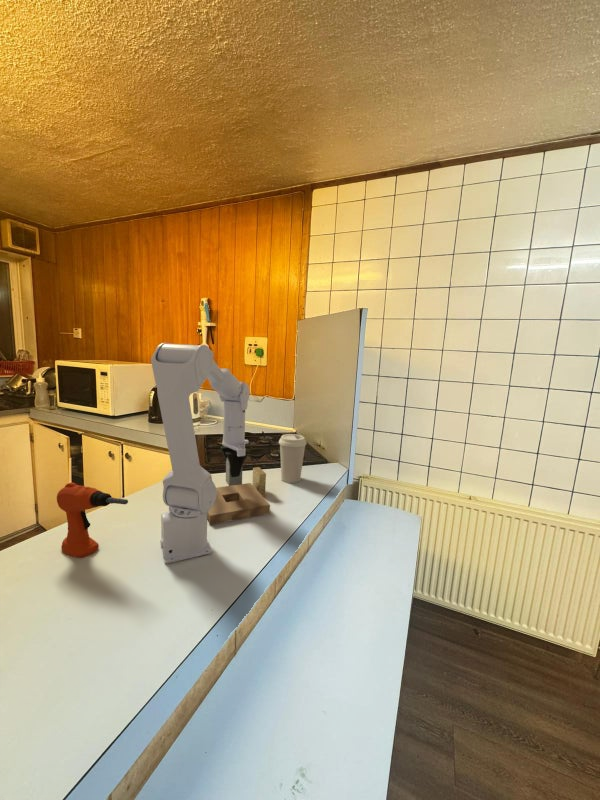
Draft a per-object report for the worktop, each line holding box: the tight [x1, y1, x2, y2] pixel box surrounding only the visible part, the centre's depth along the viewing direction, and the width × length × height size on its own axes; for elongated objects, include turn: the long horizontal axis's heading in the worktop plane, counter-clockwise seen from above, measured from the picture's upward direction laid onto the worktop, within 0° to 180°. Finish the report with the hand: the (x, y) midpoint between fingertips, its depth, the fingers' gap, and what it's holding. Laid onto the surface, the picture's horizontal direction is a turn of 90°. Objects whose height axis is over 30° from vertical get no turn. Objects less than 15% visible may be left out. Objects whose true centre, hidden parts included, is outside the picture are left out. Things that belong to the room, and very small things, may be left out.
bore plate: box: [207, 482, 271, 526], centre depth 93 cm, size 16×16×2 cm
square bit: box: [225, 457, 244, 486], centre depth 92 cm, size 4×4×7 cm
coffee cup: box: [278, 433, 308, 484], centre depth 113 cm, size 10×10×15 cm
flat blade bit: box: [251, 466, 267, 497], centre depth 102 cm, size 2×6×7 cm, turn 27°
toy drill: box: [56, 481, 129, 559], centre depth 67 cm, size 5×19×15 cm, turn 70°
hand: (233, 473), depth 92 cm, fingers closed on square bit, 4 cm apart
